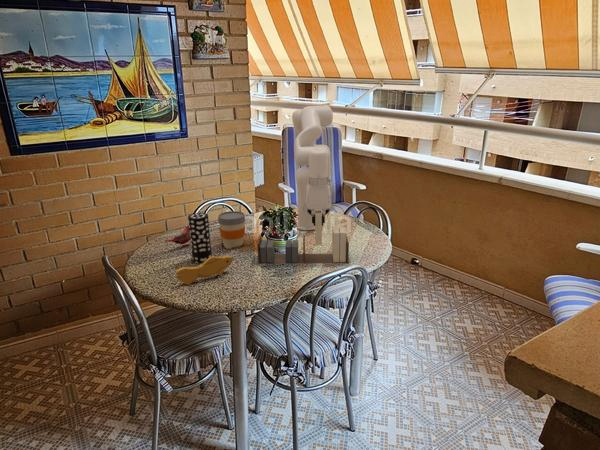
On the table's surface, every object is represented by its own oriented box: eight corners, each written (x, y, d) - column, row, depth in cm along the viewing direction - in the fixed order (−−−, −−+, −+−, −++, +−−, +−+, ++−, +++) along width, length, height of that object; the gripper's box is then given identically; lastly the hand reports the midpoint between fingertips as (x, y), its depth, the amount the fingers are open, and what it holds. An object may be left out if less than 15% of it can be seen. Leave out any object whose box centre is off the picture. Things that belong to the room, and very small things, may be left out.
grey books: (262, 255, 179) (261, 240, 176) (298, 254, 178) (298, 239, 176) (260, 262, 171) (259, 247, 169) (298, 262, 170) (297, 247, 168)
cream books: (332, 254, 177) (332, 226, 173) (344, 254, 177) (344, 226, 173) (333, 262, 170) (333, 233, 165) (345, 262, 169) (346, 233, 165)
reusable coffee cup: (229, 238, 201) (227, 209, 196) (251, 242, 196) (250, 212, 191) (214, 248, 190) (212, 217, 185) (237, 252, 185) (235, 220, 180)
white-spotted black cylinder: (215, 257, 180) (211, 214, 173) (204, 264, 173) (200, 220, 166) (200, 254, 184) (196, 212, 177) (188, 261, 176) (183, 217, 170)
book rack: (260, 256, 180) (259, 235, 177) (346, 255, 178) (347, 234, 175) (257, 265, 170) (256, 243, 167) (348, 265, 169) (349, 243, 165)
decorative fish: (233, 267, 166) (226, 246, 162) (236, 270, 164) (229, 249, 159) (182, 291, 159) (173, 270, 154) (184, 294, 156) (175, 273, 152)
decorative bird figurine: (198, 242, 197) (196, 223, 194) (167, 254, 185) (164, 233, 181) (195, 241, 199) (193, 221, 196) (163, 252, 186) (161, 232, 183)
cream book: (315, 238, 175) (315, 209, 170) (321, 238, 175) (321, 208, 170) (315, 245, 167) (315, 214, 163) (321, 245, 167) (321, 214, 163)
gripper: (337, 178, 166) (337, 221, 172) (298, 179, 166) (298, 222, 172) (339, 183, 159) (338, 227, 165) (297, 183, 159) (298, 228, 165)
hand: (318, 224), depth 168 cm, fingers closed on cream book, 2 cm apart
